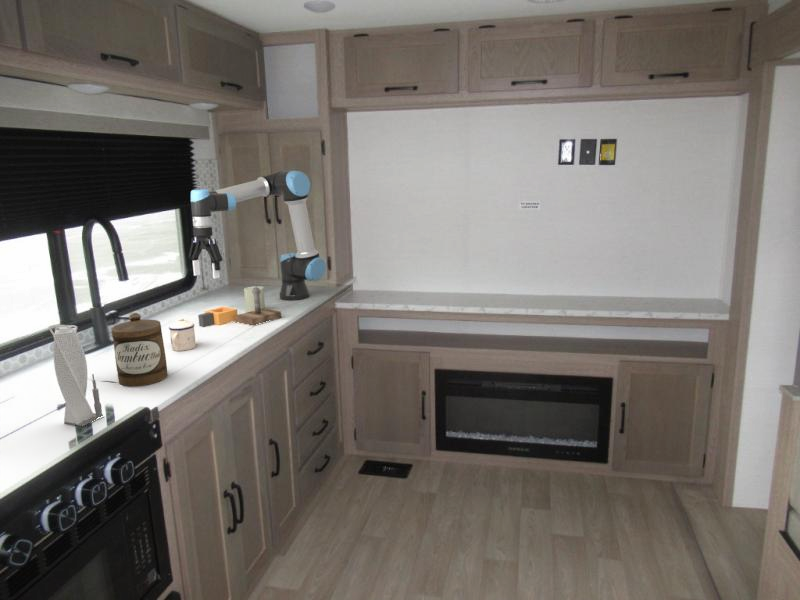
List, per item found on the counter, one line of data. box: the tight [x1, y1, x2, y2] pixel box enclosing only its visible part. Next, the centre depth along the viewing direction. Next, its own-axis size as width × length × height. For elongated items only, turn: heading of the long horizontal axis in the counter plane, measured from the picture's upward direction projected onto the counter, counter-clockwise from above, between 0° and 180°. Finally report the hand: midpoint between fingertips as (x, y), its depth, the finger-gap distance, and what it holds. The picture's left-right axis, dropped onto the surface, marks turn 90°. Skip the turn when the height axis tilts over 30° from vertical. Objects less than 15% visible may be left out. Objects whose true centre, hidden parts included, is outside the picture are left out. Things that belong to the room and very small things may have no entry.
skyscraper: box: [47, 324, 104, 428], centre depth 159 cm, size 8×8×28 cm
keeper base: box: [234, 287, 282, 326], centre depth 262 cm, size 16×12×15 cm
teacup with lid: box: [168, 317, 197, 352], centre depth 223 cm, size 12×9×12 cm
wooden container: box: [111, 312, 169, 387], centre depth 191 cm, size 15×15×22 cm
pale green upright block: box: [243, 285, 266, 313], centre depth 277 cm, size 9×9×12 cm
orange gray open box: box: [197, 306, 239, 328], centre depth 261 cm, size 16×10×5 cm, turn 143°
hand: (206, 276), depth 254 cm, fingers open, 13 cm apart
